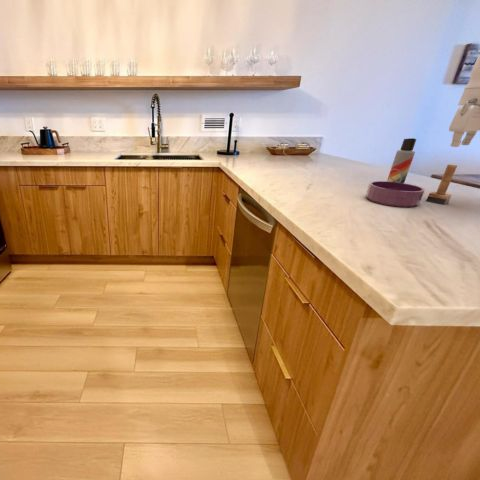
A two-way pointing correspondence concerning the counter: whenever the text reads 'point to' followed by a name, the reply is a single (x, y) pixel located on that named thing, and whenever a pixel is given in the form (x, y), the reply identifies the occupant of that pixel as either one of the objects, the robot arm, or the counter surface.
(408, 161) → the lotion bottle
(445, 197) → the dish brush
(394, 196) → the plum bowl
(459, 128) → the robot arm
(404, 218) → the counter surface
